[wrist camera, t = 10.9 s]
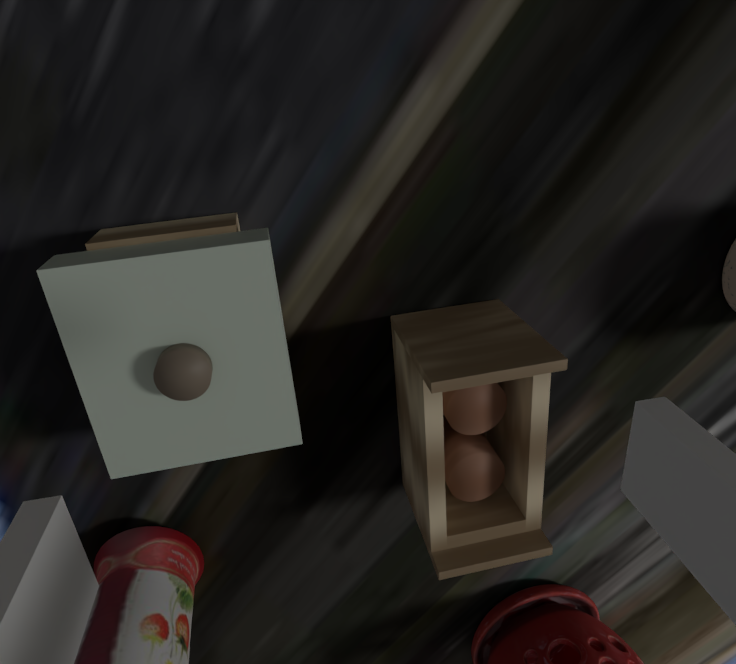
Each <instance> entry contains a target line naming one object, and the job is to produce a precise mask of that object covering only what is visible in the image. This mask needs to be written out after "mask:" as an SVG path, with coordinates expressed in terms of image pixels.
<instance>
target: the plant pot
mask: <svg viewBox="0 0 736 664" xmlns="http://www.w3.org/2000/svg"><path fill="white" fill-rule="evenodd" d="M471 655H472V660H473V664H644V663H643V661H642V660H641V659H640V658H639V657H638V655H637V654H636V653H635V652H634V651H633V650H632V649H631V648H630V646H629V645H628V644H627V643H626V642H625V641H624V640H623V639H622V638H621V637H620V636H618V635H617V634H616V633H615V632H614V631H613V630H611V629H610V628H609V627H607V626H606V625H605V624H603V623H602V622H601V621H600V619H599V613H598V609H597V607H596V605H595V604H594V602H593V601H592V600H591V599H590V598H589V597H588V596H587V595H586V594H584V593H583V592H581V591H579V590H577V589H574V588H572V587H569V586H564V585H557V584H548V585H538V586H533V587H529V588H526V589H523V590H520V591H518V592H516V593H514V594H512V595H510V596H508V597H507V598H505V599H504V600H502V601H501V602H498V603H497V604H496V605H495V607H494V608H492V609H491V610H490V611H489V612H488V614H487V615H486V616H485V617H484V618H483V620H482V621H481V623H480V624H479V626H478V628H477V630H476V632H475V635H474V638H473V641H472V647H471Z"/></svg>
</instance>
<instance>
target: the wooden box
mask: <svg viewBox="0 0 736 664" xmlns="http://www.w3.org/2000/svg"><path fill="white" fill-rule="evenodd" d="M391 327H392V341H393V354H394V368H395V382H396V396H397V410H398V423H399V437H400V451H401V465H402V479H403V486H404V488H405V491H406V494H407V496H408V499H409V502H410V504H411V507H412V510H413V512H414V515H415V518H416V520H417V523H418V526H419V528H420V531H421V533H422V536H423V539H424V541H425V544H426V547H427V549H428V552H429V555H430V557H431V560H432V563H433V565H434V568H435V570H436V573H437V576H438V578H439V580H442V579H446V578H451V577H455V576H460V575H464V574H468V573H473V572H477V571H482V570H486V569H491V568H495V567H499V566H504V565H508V564H513V563H517V562H521V561H526V560H530V559H535V558H539V557H544V556H548V555H552V549H553V547H552V545H551V544H550V542H549V541H548V539H547V538H546V536H545V535H544V533H543V532H542V530H541V517H542V501H543V486H544V471H545V456H546V441H547V426H548V411H549V395H550V380H551V372H557V371H562V370H567V362H568V359H567V358H566V357H565V356H564V355H562V354H561V353H560V352H559V351H558V350H557V349H555V348H554V347H553V346H552V345H551V344H550V343H548V342H547V341H546V340H545V339H544V338H543V337H542V336H540V335H539V334H538V333H537V332H536V331H535V330H533V329H532V328H531V327H530V326H529V325H528V324H527V323H525V322H524V321H523V320H522V319H521V318H520V317H518V316H517V315H516V314H515V313H514V312H513V311H511V310H510V309H509V308H508V307H507V306H506V305H505V304H503V303H502V302H501V301H500V300H499V299H496V300H490V301H483V302H477V303H470V304H464V305H457V306H451V307H445V308H438V309H432V310H425V311H419V312H412V313H406V314H399V315H393V316H391Z"/></svg>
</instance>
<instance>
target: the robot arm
mask: <svg viewBox="0 0 736 664" xmlns="http://www.w3.org/2000/svg"><path fill="white" fill-rule="evenodd" d="M620 490H621V491H622V492H623V493H624V494H625V496H626V497H627V498H628V499H629V500H630V502H631V503H632V504H633V505H634V506H635V507H636V509H637V510H638V511H639V512H640V513H641V514H642V516H643V517H644V518H645V519H646V520H647V522H648V523H649V524H650V525H651V526H652V527H653V529H654V530H655V531H656V532H657V533H658V534H659V536H660V537H661V538H662V539H663V540H664V541H665V543H666V544H667V545H668V546H669V547H670V549H671V550H672V551H673V552H674V553H675V554H676V556H677V557H678V558H679V559H680V560H681V561H682V563H683V564H684V565H685V566H686V567H687V569H688V570H689V571H690V572H691V573H692V574H693V576H694V577H695V578H696V579H697V580H698V581H699V583H700V584H701V585H702V586H703V587H704V588H705V590H706V591H707V592H708V593H709V594H710V596H711V597H712V598H713V599H714V600H715V601H716V603H717V604H718V605H719V606H720V607H721V608H722V610H723V611H724V612H725V613H726V614H727V615H728V617H729V618H730V619H731V620H732V621H733V623H734V624H735V625H736V454H735V453H734V452H732V451H731V450H730V449H729V448H728V447H726V446H725V445H724V444H723V443H721V442H720V441H719V440H718V439H716V438H715V437H714V436H713V435H711V434H710V433H709V432H708V431H707V430H705V429H704V428H703V427H702V426H700V425H699V424H698V423H697V422H695V421H694V420H693V419H692V418H691V417H689V416H688V415H687V414H686V413H684V412H683V411H682V410H681V409H679V408H678V407H677V406H676V405H675V404H673V403H672V402H671V401H670V400H668V399H667V398H666V397H660V398H654V399H648V400H641V401H636V402H635V408H634V414H633V420H632V425H631V431H630V437H629V443H628V448H627V454H626V460H625V466H624V471H623V477H622V483H621V489H620ZM98 587H99V584H98V582H97V580H96V577H95V575H94V572H93V570H92V567H91V565H90V563H89V560H88V558H87V555H86V553H85V551H84V548H83V546H82V543H81V541H80V538H79V536H78V534H77V531H76V529H75V526H74V524H73V522H72V519H71V517H70V514H69V512H68V509H67V507H66V505H65V502H64V500H63V497H62V495H61V496H55V497H49V498H43V499H37V500H31V501H24V502H23V503H22V505H21V507H20V508H19V510H18V512H17V514H16V516H15V517H14V519H13V521H12V523H11V524H10V526H9V528H8V530H7V532H6V533H5V535H4V537H3V539H2V541H1V542H0V664H74V662H75V659H76V656H77V652H78V649H79V646H80V643H81V640H82V637H83V634H84V631H85V628H86V624H87V621H88V618H89V615H90V612H91V609H92V606H93V603H94V600H95V597H96V593H97V590H98Z"/></svg>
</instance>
